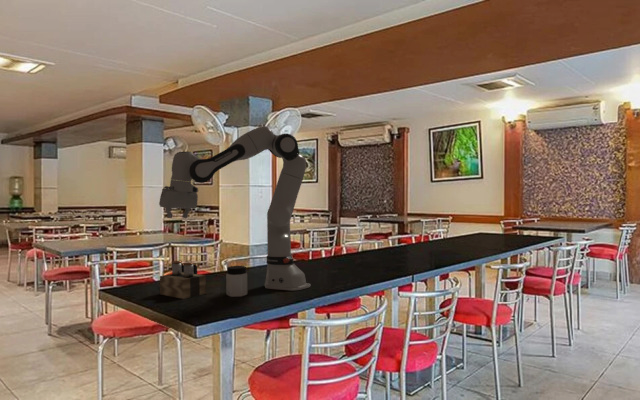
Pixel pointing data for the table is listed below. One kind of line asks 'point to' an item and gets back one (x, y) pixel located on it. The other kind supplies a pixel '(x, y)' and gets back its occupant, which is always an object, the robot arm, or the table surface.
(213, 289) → the table surface
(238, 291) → the jar
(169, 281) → the oak block
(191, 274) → the copper domed cylinder
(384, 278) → the table surface
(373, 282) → the table surface
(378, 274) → the table surface
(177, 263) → the cylinder
